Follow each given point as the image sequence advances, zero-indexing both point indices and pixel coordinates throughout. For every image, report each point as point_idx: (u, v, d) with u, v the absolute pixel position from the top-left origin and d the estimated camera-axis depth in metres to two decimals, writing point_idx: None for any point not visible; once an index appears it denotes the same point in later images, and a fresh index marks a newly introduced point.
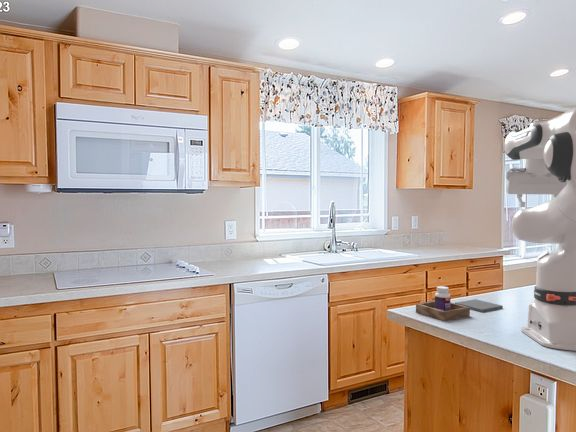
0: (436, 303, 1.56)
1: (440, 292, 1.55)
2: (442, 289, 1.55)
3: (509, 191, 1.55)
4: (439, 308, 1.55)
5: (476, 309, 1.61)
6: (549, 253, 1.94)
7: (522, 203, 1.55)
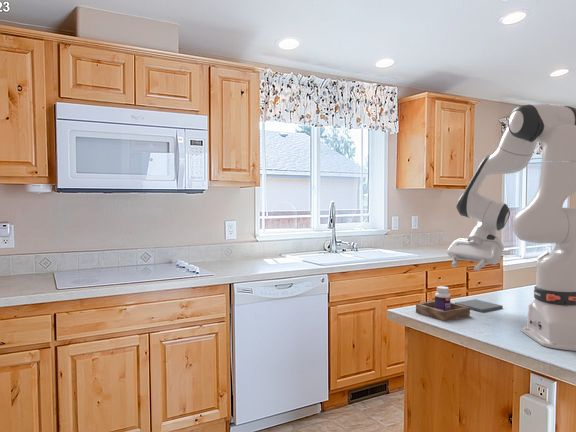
0: (436, 303, 1.56)
1: (440, 292, 1.55)
2: (442, 289, 1.55)
3: (447, 250, 1.73)
4: (439, 308, 1.55)
5: (476, 309, 1.61)
6: (549, 253, 1.94)
7: (453, 262, 1.68)
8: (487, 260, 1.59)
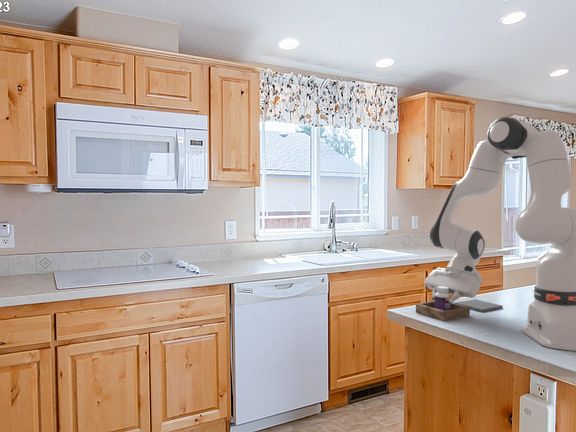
0: (436, 303, 1.56)
1: (440, 292, 1.55)
2: (442, 289, 1.55)
3: (425, 281, 1.66)
4: (439, 308, 1.55)
5: (476, 309, 1.61)
6: None
7: (433, 294, 1.60)
8: (464, 293, 1.52)
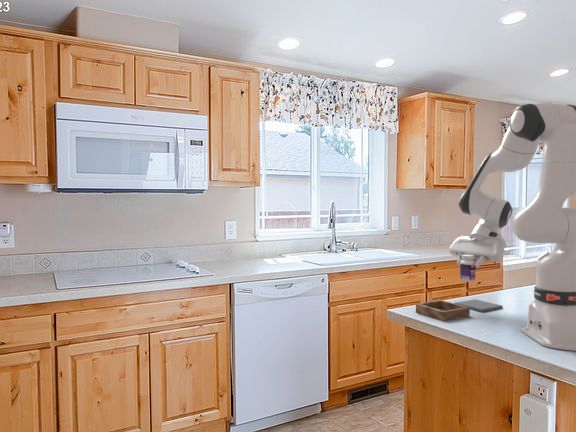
0: (461, 270, 1.63)
1: (466, 260, 1.62)
2: (468, 257, 1.62)
3: (449, 248, 1.72)
4: (465, 275, 1.62)
5: (476, 309, 1.61)
6: (549, 253, 1.94)
7: (458, 260, 1.66)
8: (490, 257, 1.59)
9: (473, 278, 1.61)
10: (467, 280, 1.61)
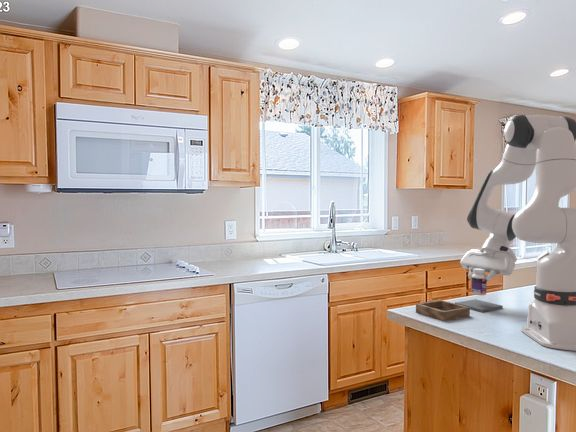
0: (473, 284, 1.67)
1: (477, 273, 1.66)
2: (479, 271, 1.65)
3: (460, 261, 1.76)
4: (476, 288, 1.65)
5: (476, 309, 1.61)
6: (549, 253, 1.94)
7: (470, 273, 1.70)
8: (500, 271, 1.62)
9: (484, 292, 1.65)
10: (479, 293, 1.65)
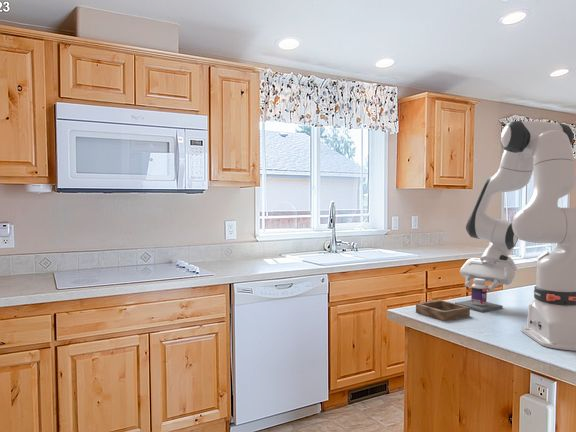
0: (473, 294, 1.67)
1: (477, 283, 1.66)
2: (479, 281, 1.65)
3: (460, 270, 1.76)
4: (476, 298, 1.65)
5: (476, 309, 1.61)
6: (549, 253, 1.94)
7: (466, 281, 1.71)
8: (500, 280, 1.62)
9: (484, 302, 1.65)
10: (479, 304, 1.65)
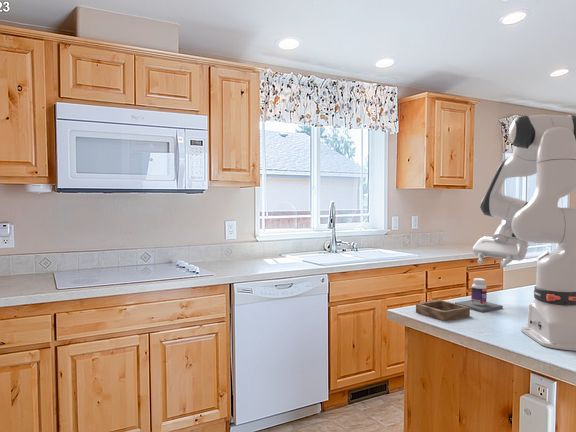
0: (473, 294, 1.67)
1: (477, 283, 1.66)
2: (479, 281, 1.65)
3: (473, 248, 1.80)
4: (476, 298, 1.65)
5: (476, 309, 1.61)
6: (549, 253, 1.94)
7: (479, 258, 1.75)
8: (513, 256, 1.67)
9: (484, 302, 1.65)
10: (479, 304, 1.65)
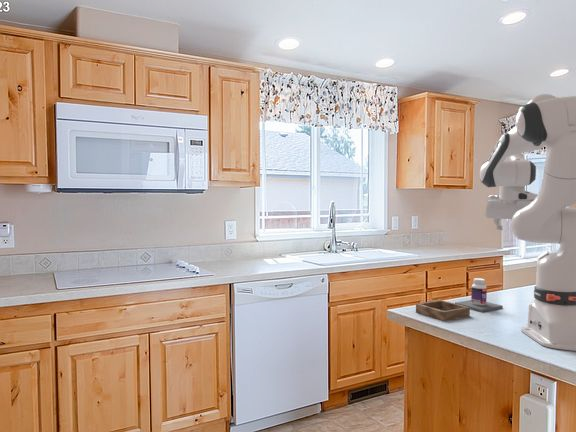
0: (473, 294, 1.67)
1: (477, 283, 1.66)
2: (479, 281, 1.65)
3: (486, 215, 1.75)
4: (476, 298, 1.65)
5: (476, 309, 1.61)
6: (549, 253, 1.94)
7: (497, 226, 1.72)
8: None
9: (484, 302, 1.65)
10: (479, 304, 1.65)
